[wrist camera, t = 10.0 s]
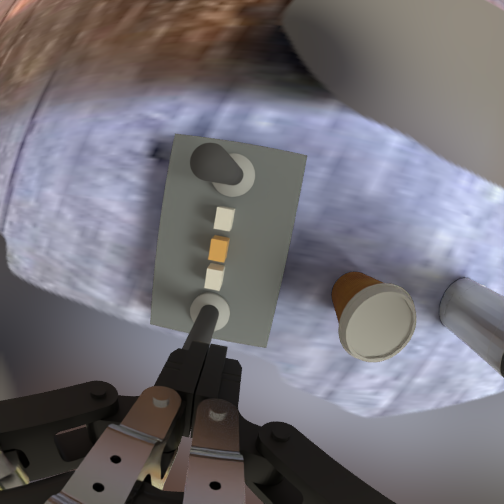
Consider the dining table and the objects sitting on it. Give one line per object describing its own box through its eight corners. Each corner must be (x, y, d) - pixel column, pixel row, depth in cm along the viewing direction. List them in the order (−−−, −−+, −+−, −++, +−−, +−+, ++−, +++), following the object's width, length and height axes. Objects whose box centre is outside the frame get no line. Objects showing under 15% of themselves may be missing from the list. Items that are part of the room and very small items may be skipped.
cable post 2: (233, 296, 37) (213, 374, 20) (226, 331, 38) (206, 420, 21) (194, 288, 37) (148, 359, 20) (189, 323, 38) (148, 405, 21)
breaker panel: (302, 158, 37) (310, 152, 31) (265, 334, 42) (266, 358, 36) (183, 138, 37) (168, 129, 31) (159, 312, 42) (143, 332, 36)
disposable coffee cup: (307, 304, 41) (323, 346, 29) (344, 247, 39) (377, 270, 28) (357, 332, 42) (385, 376, 30) (393, 280, 40) (434, 311, 28)
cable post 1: (258, 158, 34) (257, 128, 17) (250, 200, 35) (242, 209, 18) (216, 151, 33) (178, 118, 17) (209, 192, 34) (163, 195, 18)
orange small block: (229, 237, 35) (227, 241, 33) (226, 257, 36) (223, 262, 33) (214, 235, 35) (211, 238, 33) (211, 254, 36) (208, 259, 33)
